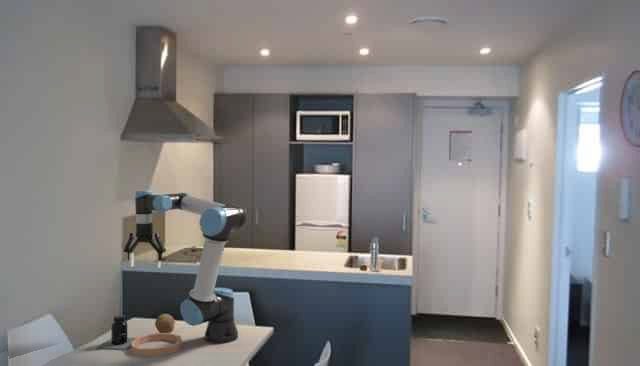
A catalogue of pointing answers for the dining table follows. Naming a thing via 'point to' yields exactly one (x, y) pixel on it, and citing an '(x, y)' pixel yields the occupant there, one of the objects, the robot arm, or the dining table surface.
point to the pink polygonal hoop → (156, 351)
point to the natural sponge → (165, 323)
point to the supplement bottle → (119, 330)
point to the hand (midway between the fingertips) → (145, 267)
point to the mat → (109, 345)
